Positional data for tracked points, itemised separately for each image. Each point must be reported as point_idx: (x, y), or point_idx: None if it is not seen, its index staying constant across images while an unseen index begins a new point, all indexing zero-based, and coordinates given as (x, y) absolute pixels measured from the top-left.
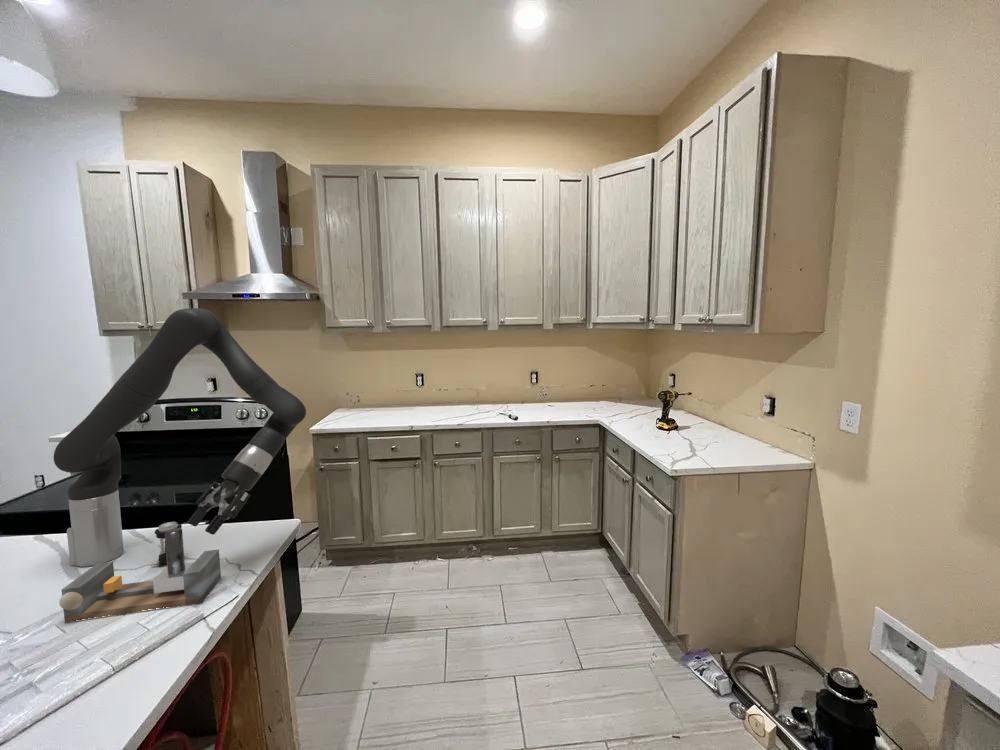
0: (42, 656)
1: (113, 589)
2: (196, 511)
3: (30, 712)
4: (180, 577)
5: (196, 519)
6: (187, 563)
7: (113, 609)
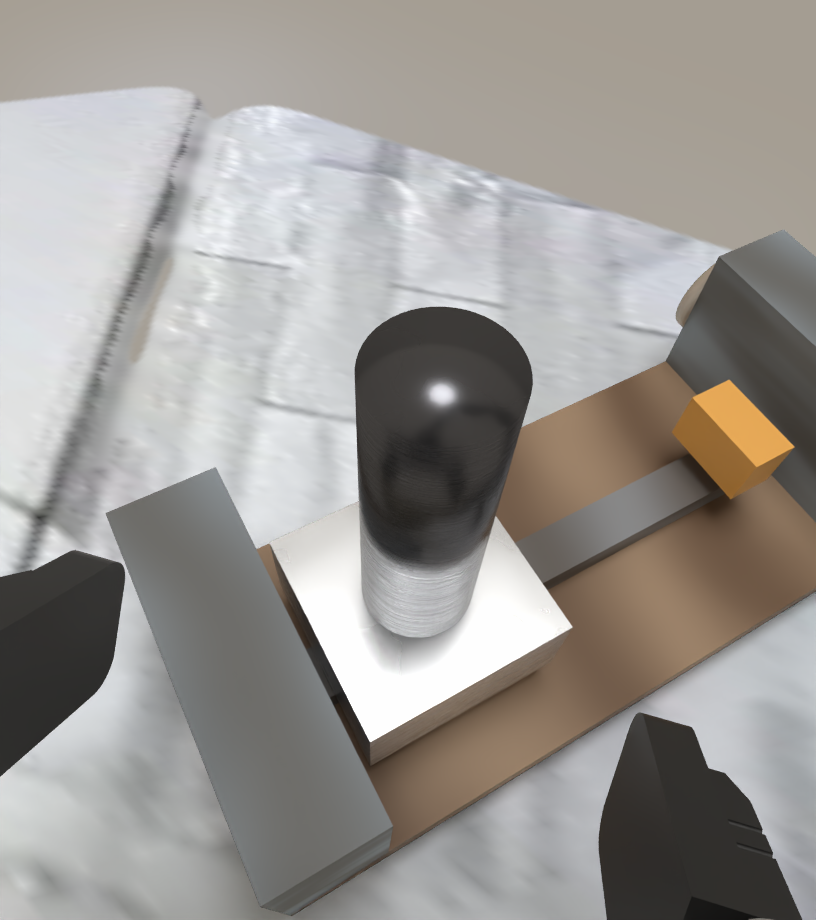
0: (520, 239)
1: (678, 427)
2: (705, 846)
3: (255, 125)
4: (301, 532)
5: (631, 834)
6: (441, 691)
7: (557, 412)
